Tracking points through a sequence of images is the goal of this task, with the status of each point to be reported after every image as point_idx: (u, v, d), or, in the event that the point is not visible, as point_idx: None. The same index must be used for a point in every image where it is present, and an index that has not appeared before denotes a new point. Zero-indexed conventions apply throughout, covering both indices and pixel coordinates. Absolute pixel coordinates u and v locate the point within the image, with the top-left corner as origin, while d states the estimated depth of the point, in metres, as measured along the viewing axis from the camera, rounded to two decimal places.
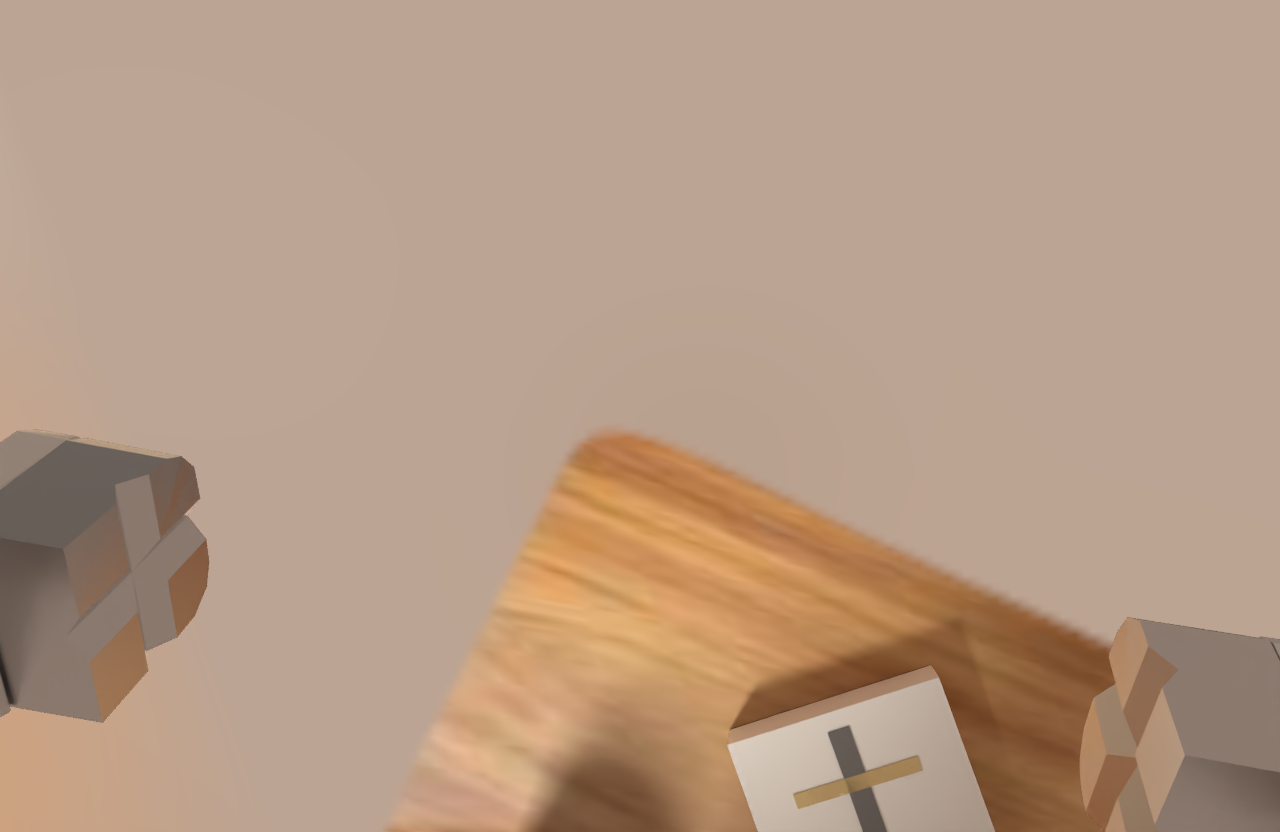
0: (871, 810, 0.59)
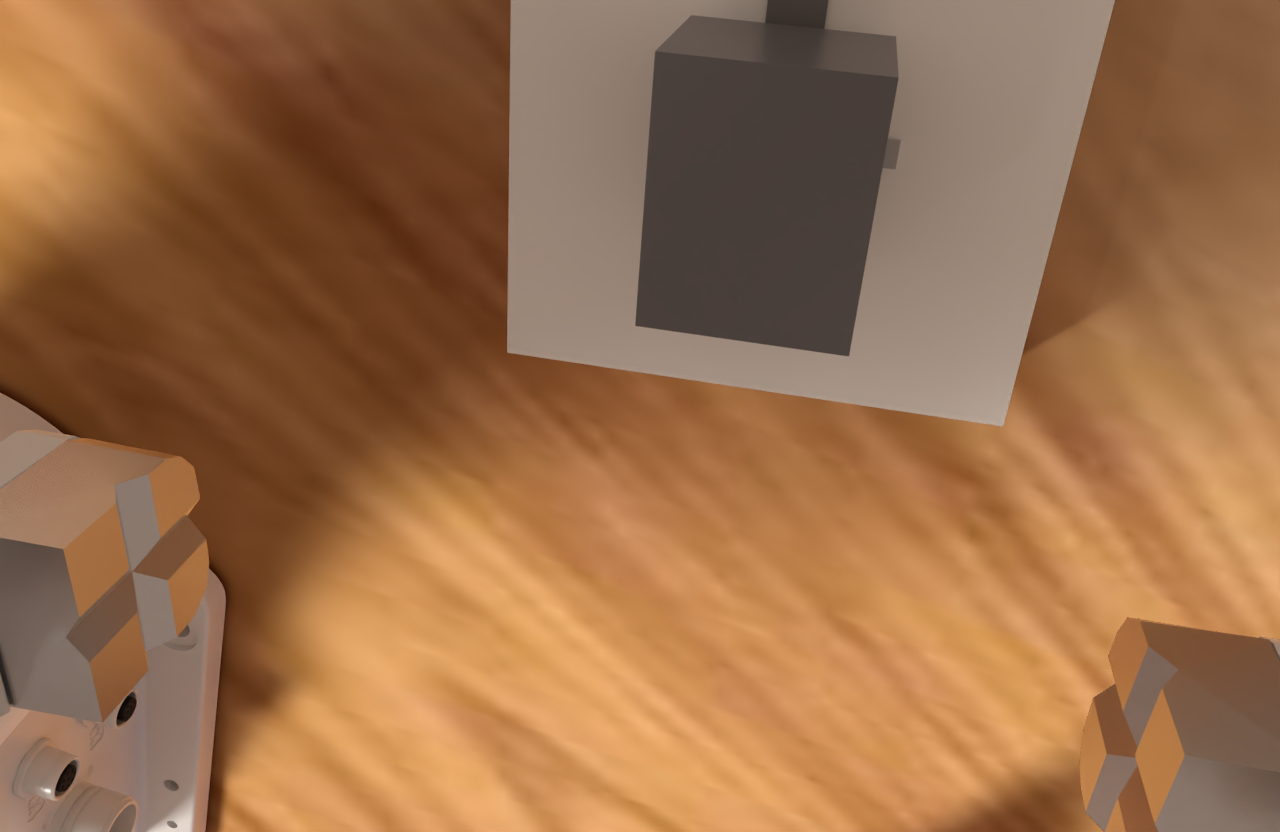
0: None
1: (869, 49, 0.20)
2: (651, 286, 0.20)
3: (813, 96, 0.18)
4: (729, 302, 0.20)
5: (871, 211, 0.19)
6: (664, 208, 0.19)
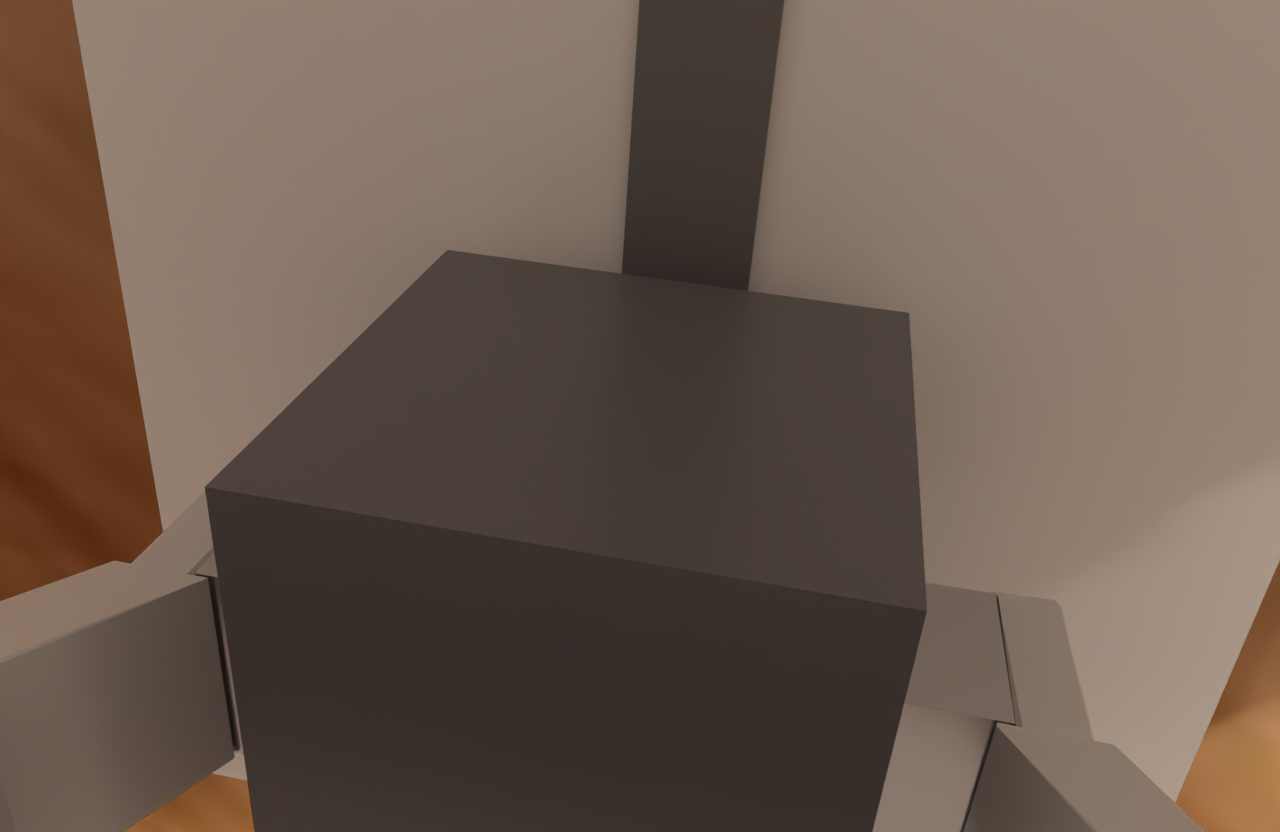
0: None
1: (843, 399, 0.08)
2: None
3: (669, 634, 0.06)
4: None
5: None
6: (303, 829, 0.07)
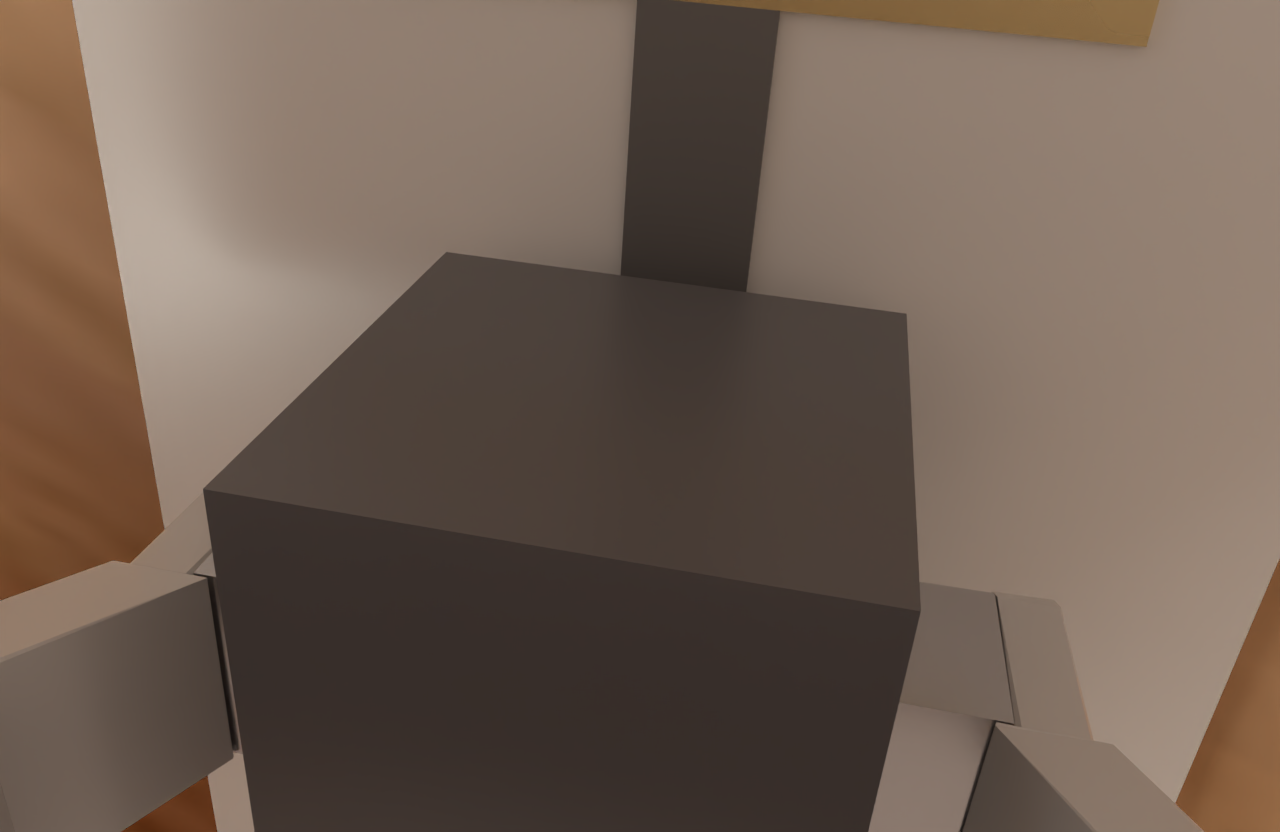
0: (718, 150, 0.10)
1: (840, 400, 0.08)
2: None
3: (665, 635, 0.06)
4: None
5: None
6: (303, 829, 0.07)
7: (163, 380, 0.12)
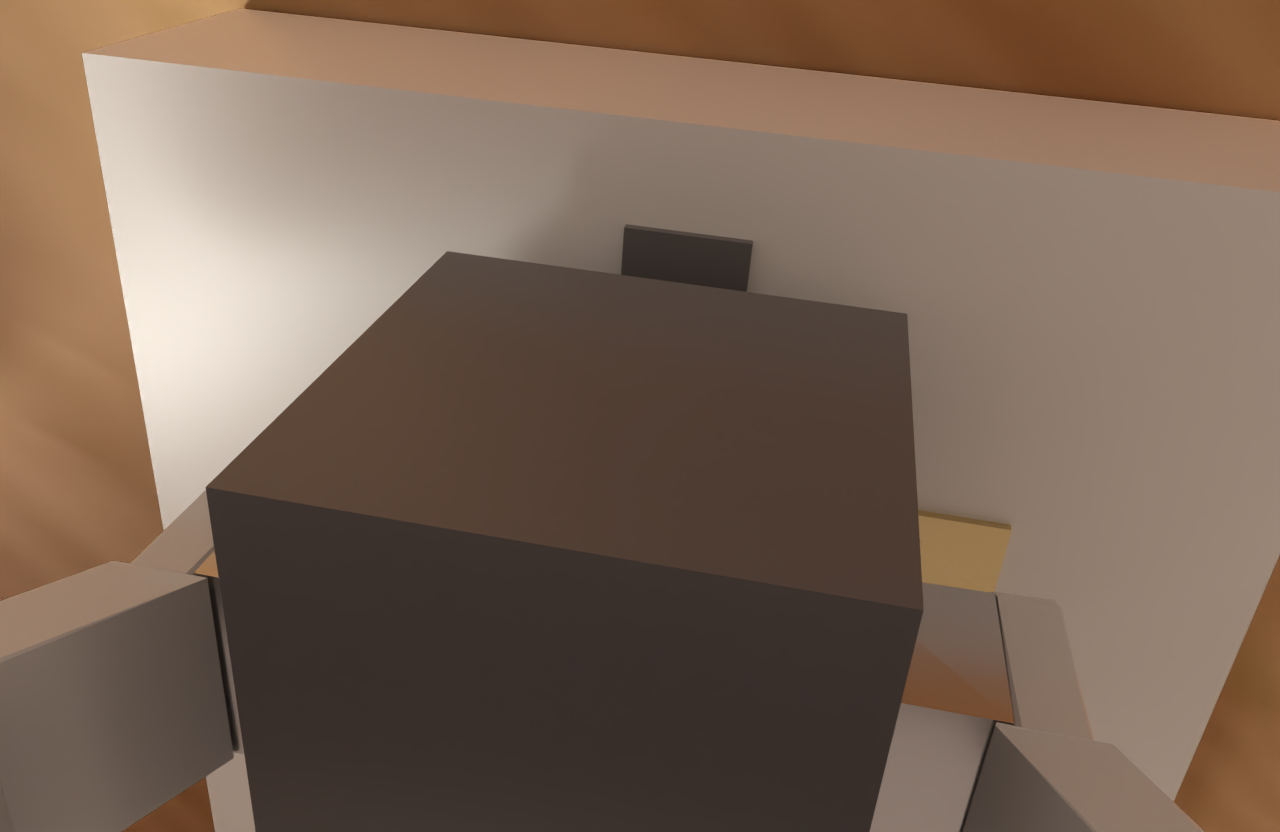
0: None
1: (841, 400, 0.08)
2: None
3: (667, 633, 0.06)
4: None
5: None
6: (303, 827, 0.07)
7: None
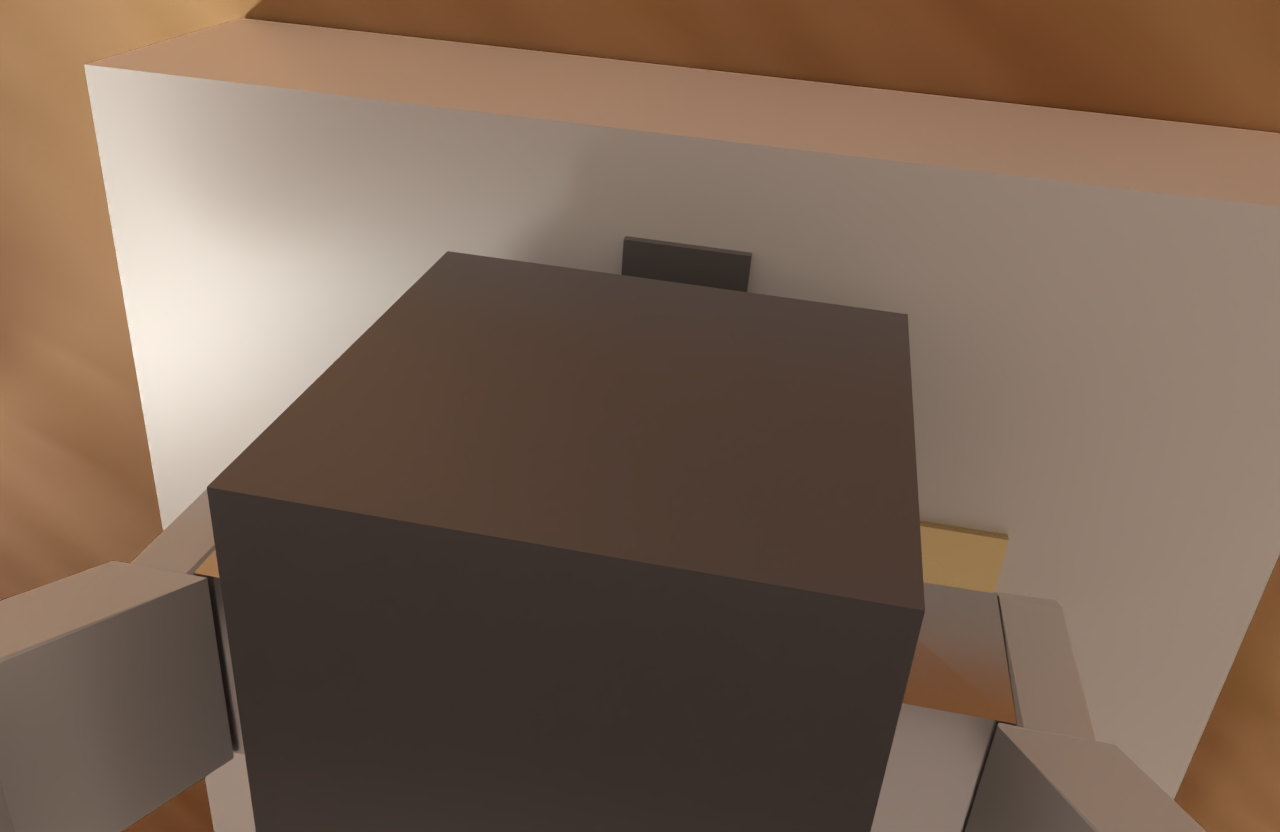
0: None
1: (842, 400, 0.08)
2: None
3: (668, 635, 0.06)
4: None
5: None
6: (303, 828, 0.07)
7: None
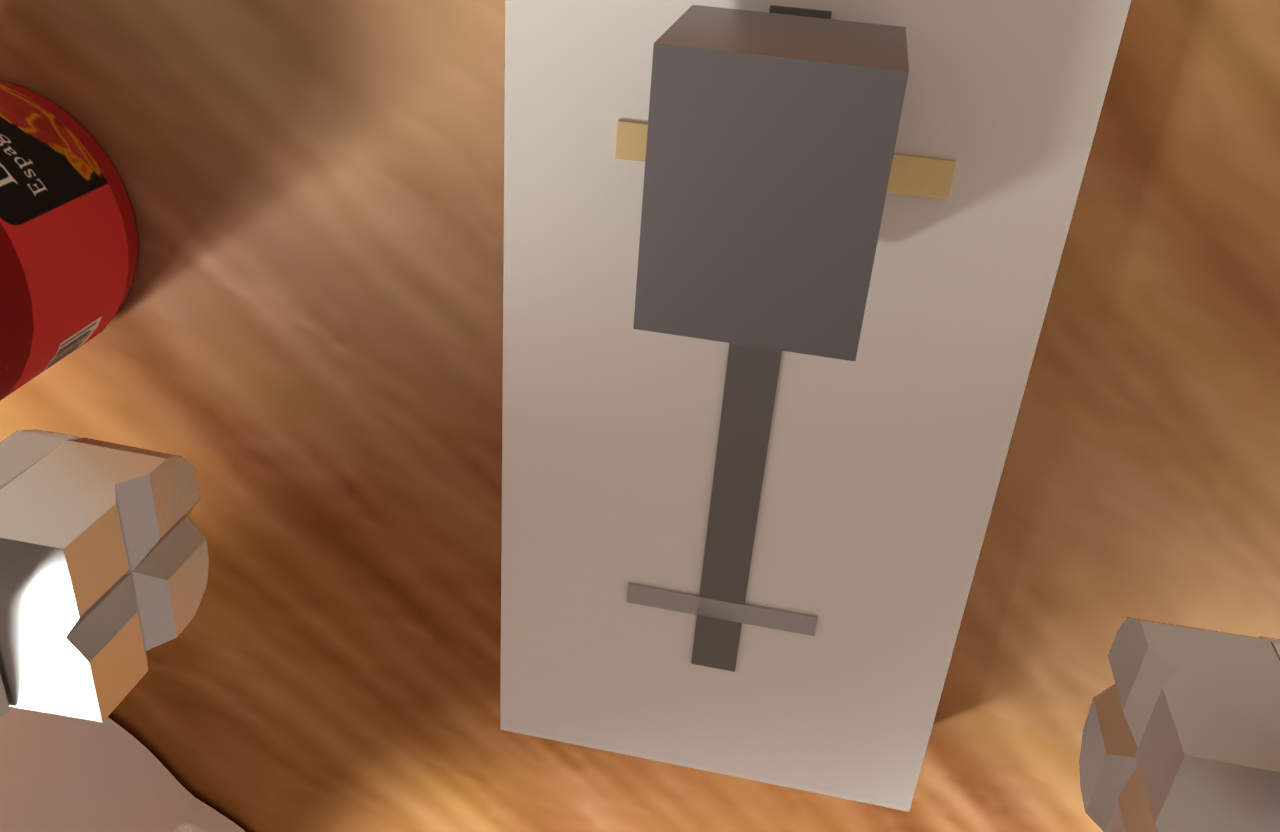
0: None
1: (878, 41, 0.19)
2: (650, 288, 0.19)
3: (819, 91, 0.17)
4: (731, 305, 0.19)
5: (879, 211, 0.18)
6: (662, 207, 0.19)
7: (515, 331, 0.26)
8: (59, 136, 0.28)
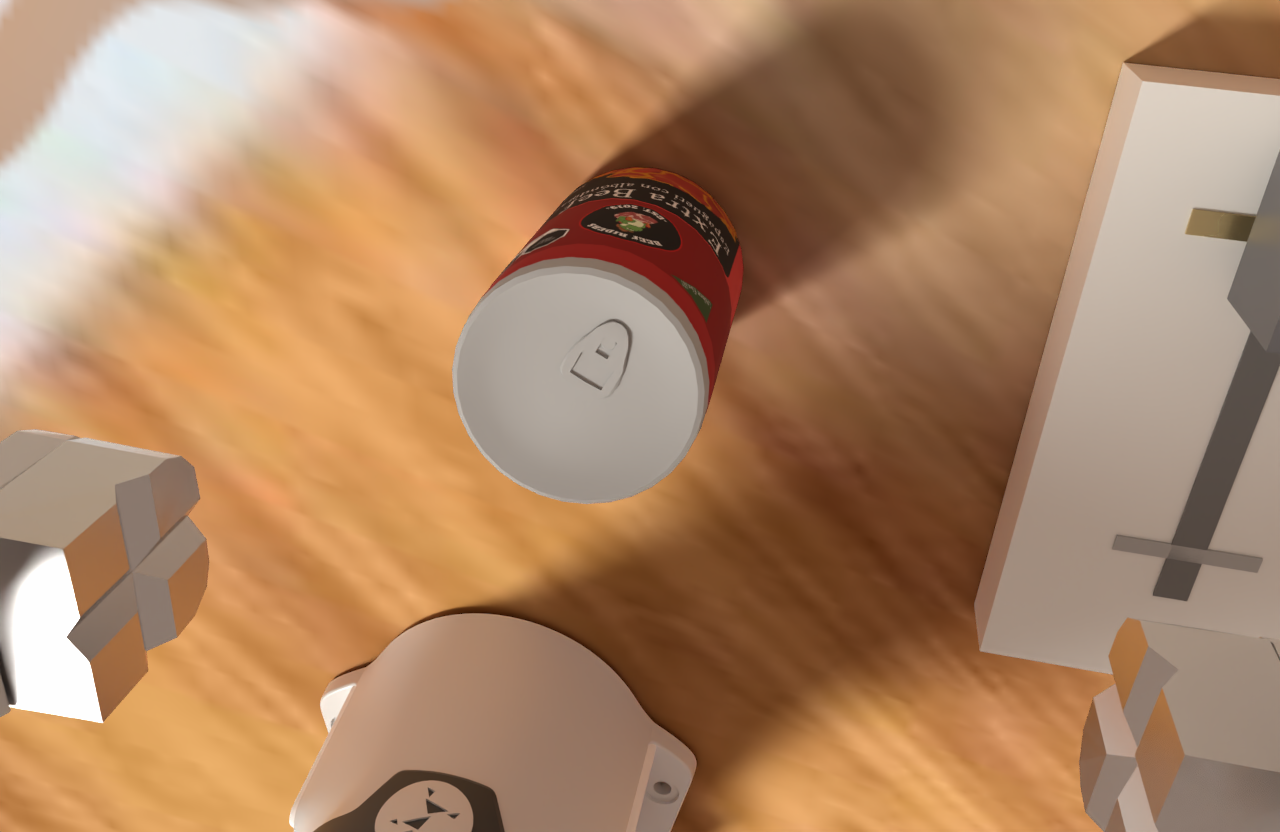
0: None
1: None
2: None
3: None
4: None
5: None
6: None
7: (1074, 352, 0.37)
8: (719, 211, 0.39)
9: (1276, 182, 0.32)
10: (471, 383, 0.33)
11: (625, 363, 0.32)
